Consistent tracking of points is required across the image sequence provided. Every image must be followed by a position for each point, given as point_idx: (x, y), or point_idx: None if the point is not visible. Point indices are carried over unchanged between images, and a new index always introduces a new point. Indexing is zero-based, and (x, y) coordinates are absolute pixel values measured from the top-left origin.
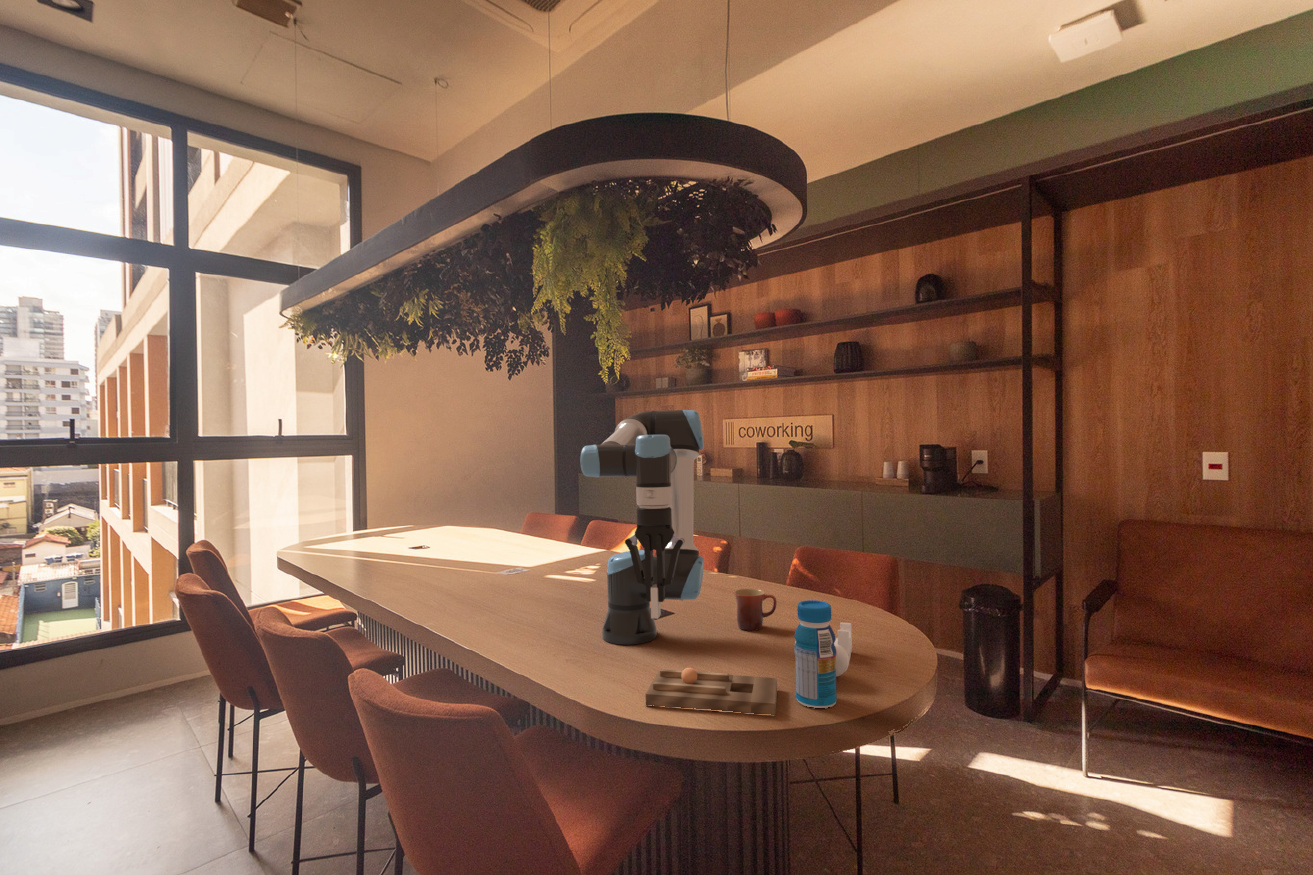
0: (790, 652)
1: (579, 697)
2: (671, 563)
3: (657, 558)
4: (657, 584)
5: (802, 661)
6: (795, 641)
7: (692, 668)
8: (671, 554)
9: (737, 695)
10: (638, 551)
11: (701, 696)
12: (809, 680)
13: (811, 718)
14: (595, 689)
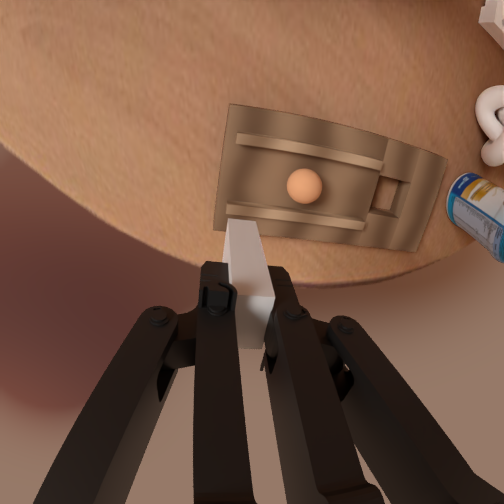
0: (473, 9)
1: (88, 196)
2: (371, 451)
3: (290, 493)
4: (264, 358)
5: (485, 245)
6: (495, 19)
7: (316, 188)
8: (387, 497)
9: (376, 228)
10: (96, 499)
11: (318, 234)
12: (473, 237)
13: (440, 245)
14: (103, 158)
